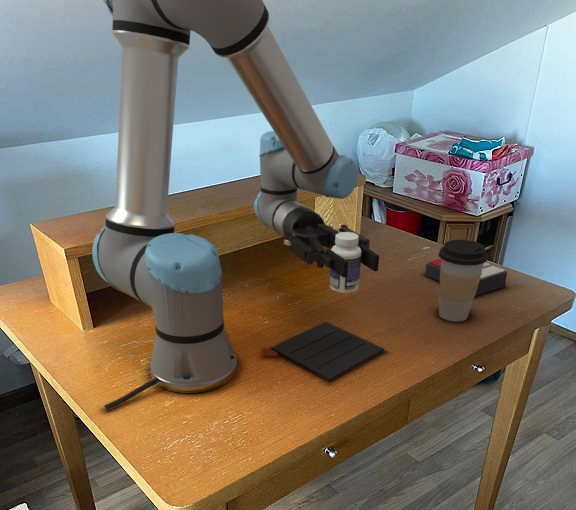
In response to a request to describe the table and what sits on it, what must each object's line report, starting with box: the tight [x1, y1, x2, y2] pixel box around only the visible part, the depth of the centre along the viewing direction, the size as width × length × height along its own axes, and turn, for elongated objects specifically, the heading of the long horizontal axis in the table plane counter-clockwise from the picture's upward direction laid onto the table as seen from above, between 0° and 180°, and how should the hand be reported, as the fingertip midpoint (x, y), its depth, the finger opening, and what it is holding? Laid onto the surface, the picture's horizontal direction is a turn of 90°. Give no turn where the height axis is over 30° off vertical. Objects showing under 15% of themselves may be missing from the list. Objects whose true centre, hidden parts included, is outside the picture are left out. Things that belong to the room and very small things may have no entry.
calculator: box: [424, 257, 508, 297], centre depth 139 cm, size 11×4×15 cm
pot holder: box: [264, 321, 385, 383], centre depth 112 cm, size 17×16×1 cm
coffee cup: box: [438, 239, 489, 323], centre depth 121 cm, size 9×9×15 cm
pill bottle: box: [329, 232, 362, 294], centre depth 106 cm, size 5×5×10 cm
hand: (361, 266), depth 101 cm, fingers closed on pill bottle, 5 cm apart
